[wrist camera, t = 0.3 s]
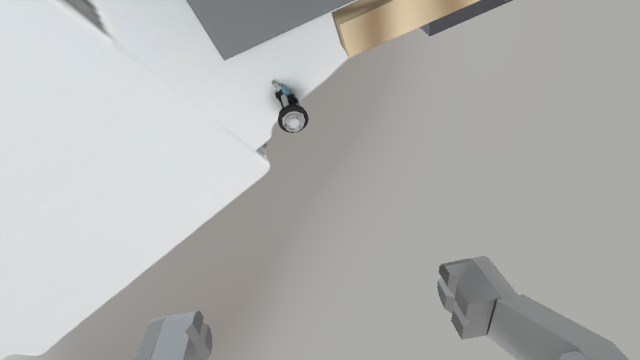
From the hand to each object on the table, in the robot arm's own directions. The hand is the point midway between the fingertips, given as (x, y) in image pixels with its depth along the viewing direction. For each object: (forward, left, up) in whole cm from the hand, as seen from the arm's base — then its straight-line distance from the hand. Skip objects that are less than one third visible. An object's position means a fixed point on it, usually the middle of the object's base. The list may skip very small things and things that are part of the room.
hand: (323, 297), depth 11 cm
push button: (+16, +14, -51) cm, 55 cm away
